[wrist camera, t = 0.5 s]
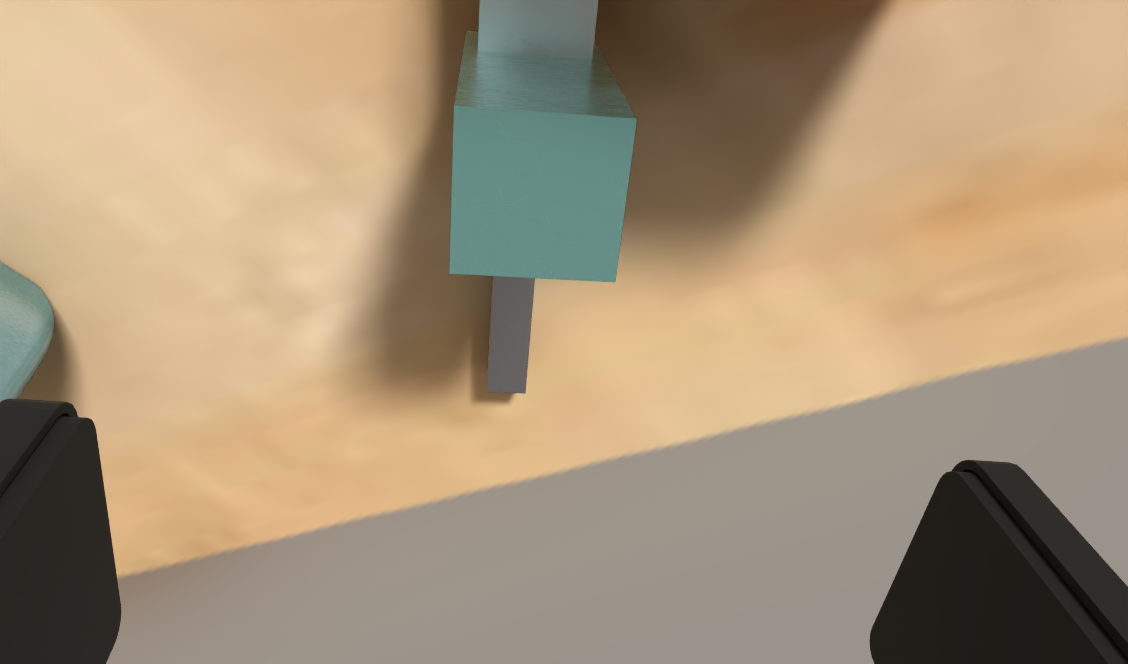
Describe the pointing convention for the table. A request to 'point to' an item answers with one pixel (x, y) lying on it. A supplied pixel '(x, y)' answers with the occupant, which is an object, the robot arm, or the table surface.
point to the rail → (509, 333)
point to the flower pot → (21, 330)
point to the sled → (538, 146)
